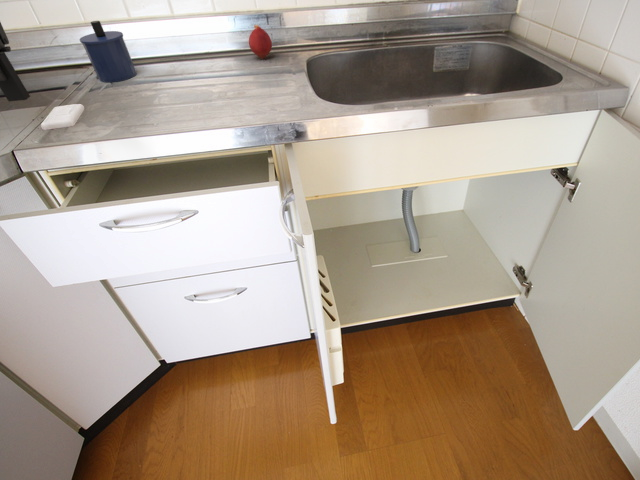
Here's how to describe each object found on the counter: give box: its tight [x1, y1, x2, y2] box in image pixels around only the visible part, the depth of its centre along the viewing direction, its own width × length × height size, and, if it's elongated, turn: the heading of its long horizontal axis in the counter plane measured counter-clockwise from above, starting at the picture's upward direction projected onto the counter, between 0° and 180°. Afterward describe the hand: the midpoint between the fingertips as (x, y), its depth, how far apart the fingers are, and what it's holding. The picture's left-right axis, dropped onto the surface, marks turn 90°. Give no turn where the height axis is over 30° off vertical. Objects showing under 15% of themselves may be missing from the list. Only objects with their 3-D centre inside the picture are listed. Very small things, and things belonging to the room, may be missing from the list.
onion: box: [248, 24, 273, 60], centre depth 102 cm, size 6×6×8 cm
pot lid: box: [79, 20, 124, 45], centre depth 92 cm, size 9×9×4 cm
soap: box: [40, 103, 85, 131], centre depth 76 cm, size 9×6×3 cm, turn 14°
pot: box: [81, 36, 137, 83], centre depth 96 cm, size 9×9×8 cm
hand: (19, 98), depth 64 cm, fingers closed
